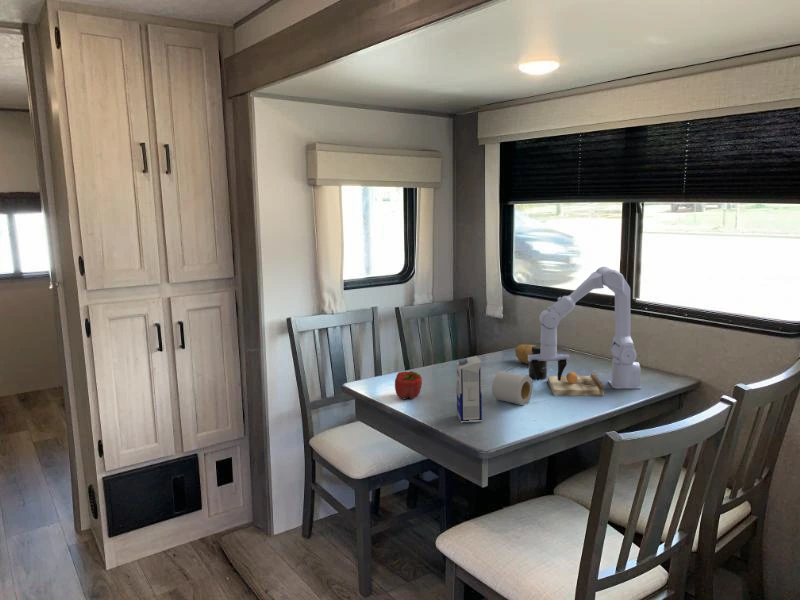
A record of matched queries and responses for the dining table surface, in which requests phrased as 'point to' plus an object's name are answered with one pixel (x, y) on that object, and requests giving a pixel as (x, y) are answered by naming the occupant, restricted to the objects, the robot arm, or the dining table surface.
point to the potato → (523, 352)
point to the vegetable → (408, 384)
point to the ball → (571, 377)
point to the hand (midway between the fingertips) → (548, 379)
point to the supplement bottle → (541, 365)
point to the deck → (576, 386)
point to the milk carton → (469, 389)
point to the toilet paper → (512, 387)
